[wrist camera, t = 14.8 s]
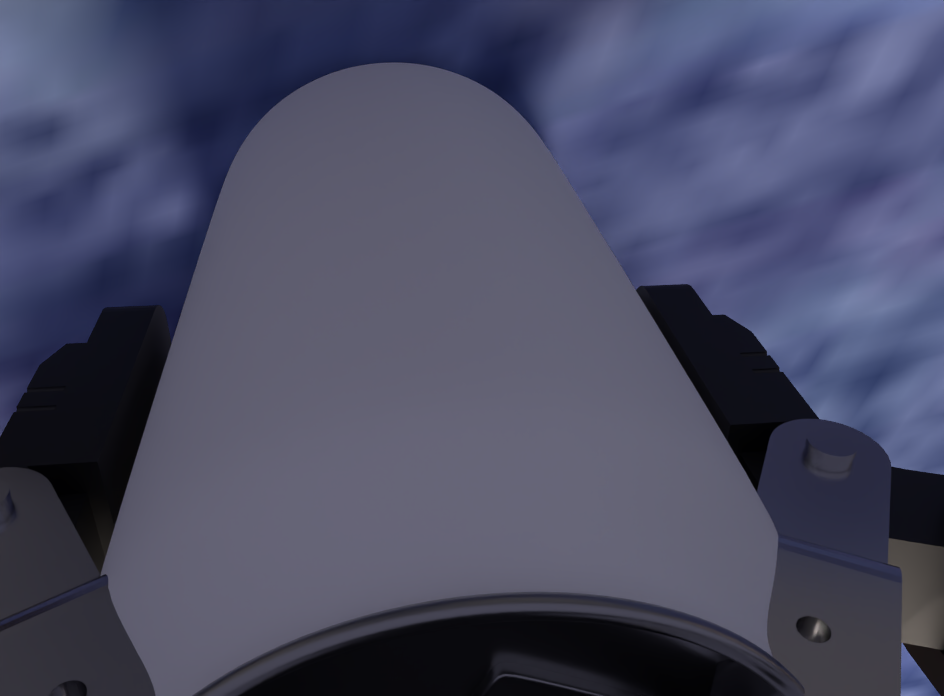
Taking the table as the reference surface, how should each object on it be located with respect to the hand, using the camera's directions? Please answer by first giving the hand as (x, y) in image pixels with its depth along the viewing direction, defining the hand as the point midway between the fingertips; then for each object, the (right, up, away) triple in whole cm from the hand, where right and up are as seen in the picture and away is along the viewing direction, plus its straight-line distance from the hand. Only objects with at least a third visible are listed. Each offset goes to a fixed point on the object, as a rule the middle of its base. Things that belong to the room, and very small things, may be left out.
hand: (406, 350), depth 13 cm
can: (-1, +2, +4) cm, 5 cm away
